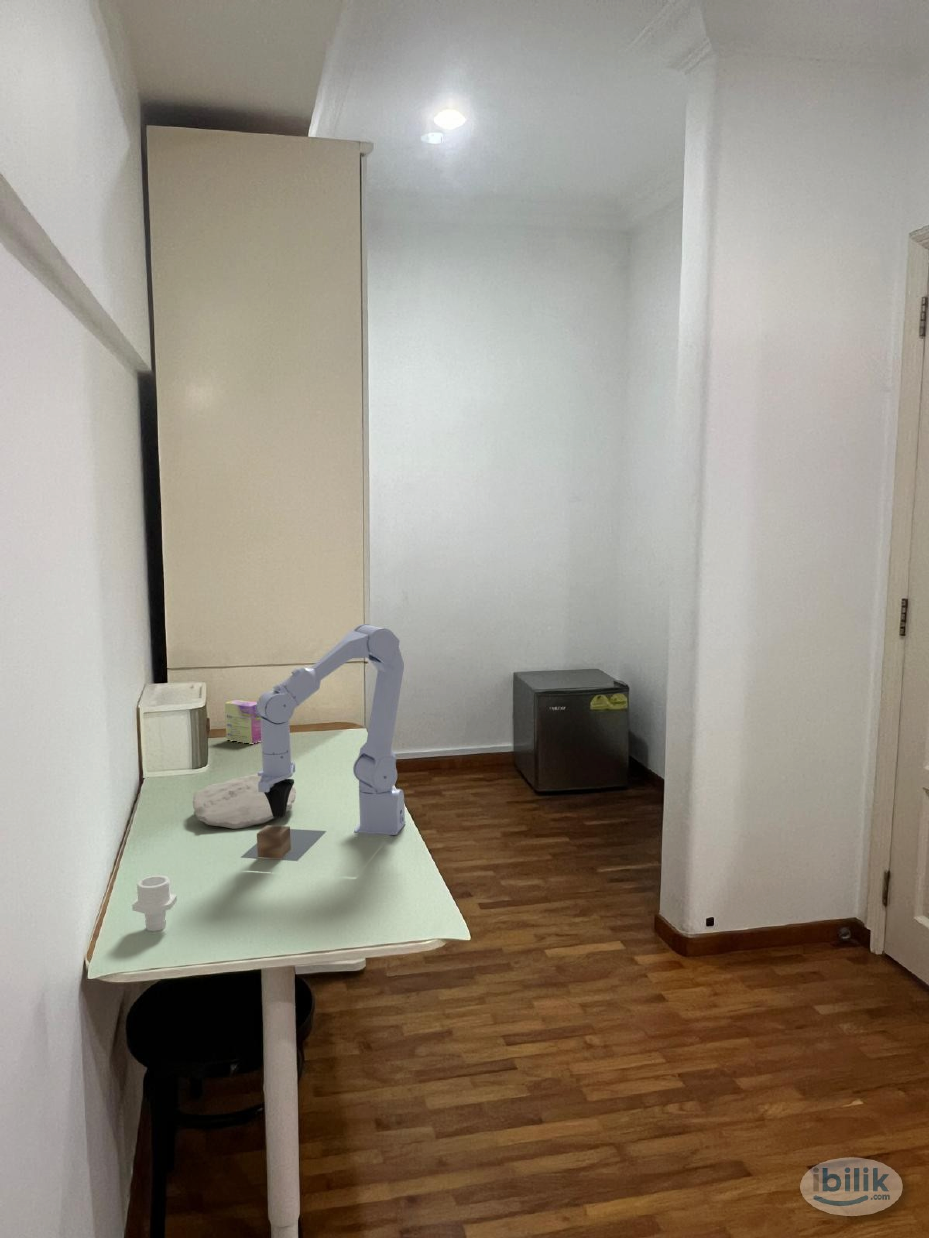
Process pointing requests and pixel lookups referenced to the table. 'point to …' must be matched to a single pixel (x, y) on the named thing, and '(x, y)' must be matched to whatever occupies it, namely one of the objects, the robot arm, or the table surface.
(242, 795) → the rock
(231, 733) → the box
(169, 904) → the pipe fitting
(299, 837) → the mat
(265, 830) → the cube
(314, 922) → the table surface
